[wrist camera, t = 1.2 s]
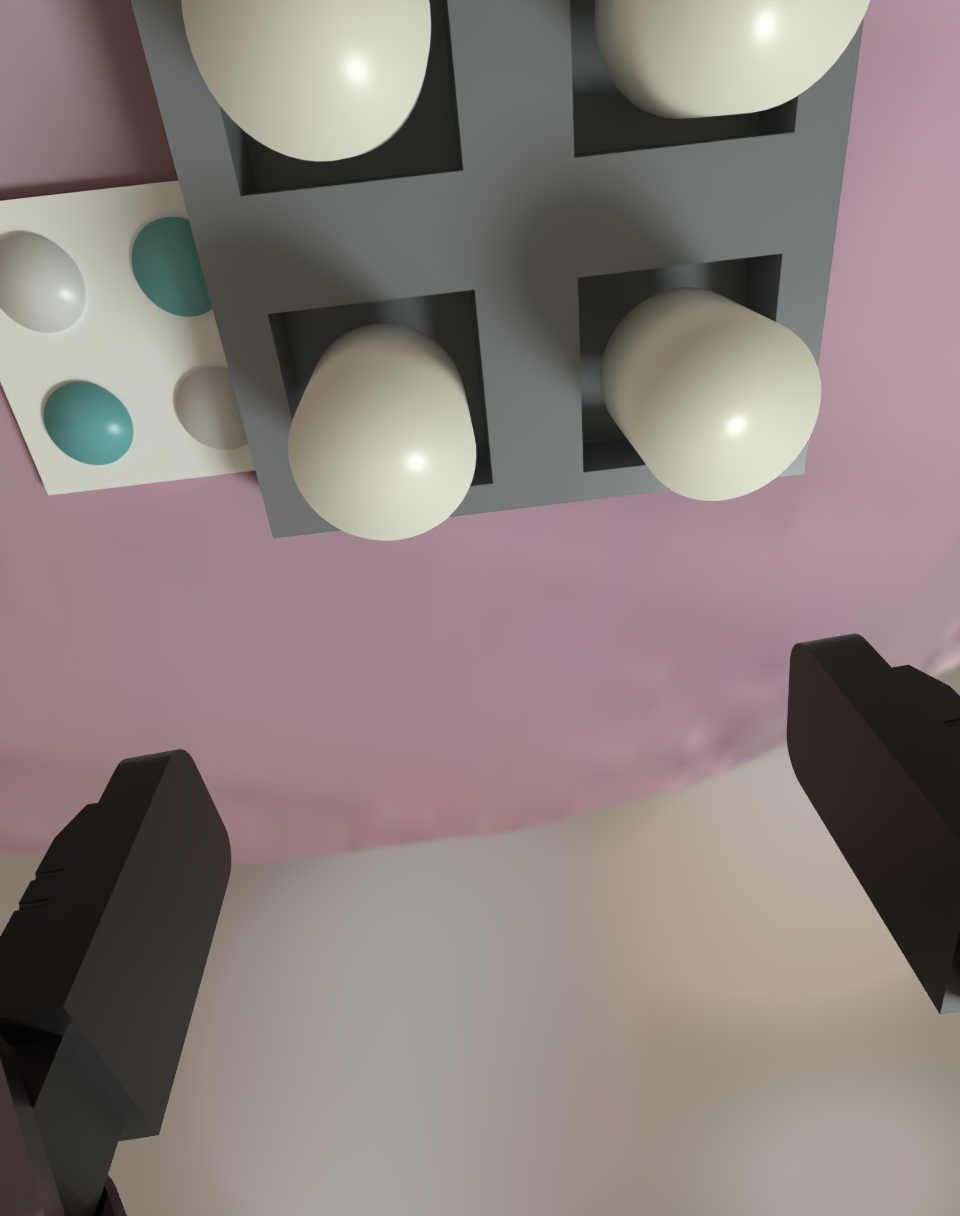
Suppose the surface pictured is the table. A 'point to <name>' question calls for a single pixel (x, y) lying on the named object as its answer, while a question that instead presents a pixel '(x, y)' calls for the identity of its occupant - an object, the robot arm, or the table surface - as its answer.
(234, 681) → the table surface
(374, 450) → the button
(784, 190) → the board
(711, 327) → the button
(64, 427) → the card
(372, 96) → the button
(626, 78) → the button
